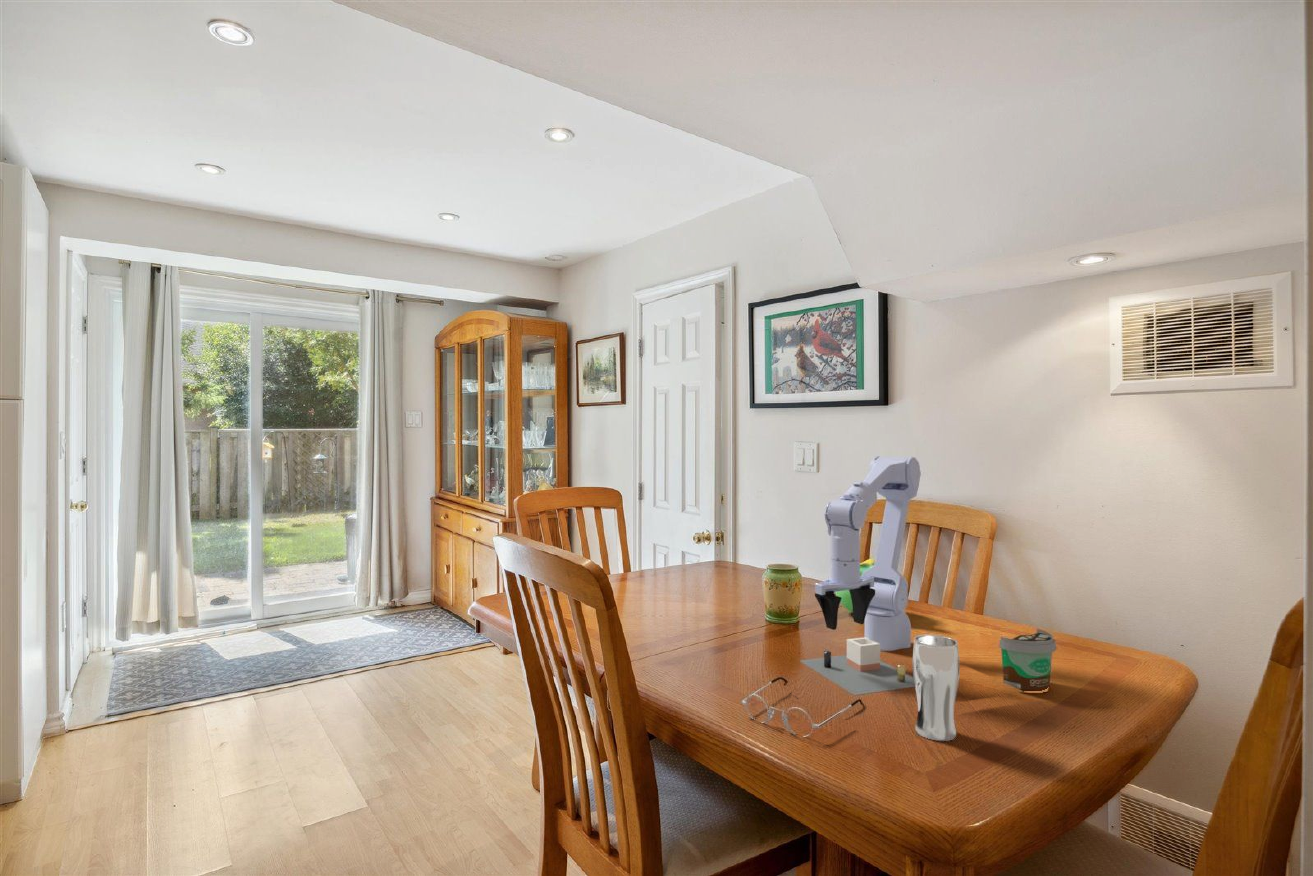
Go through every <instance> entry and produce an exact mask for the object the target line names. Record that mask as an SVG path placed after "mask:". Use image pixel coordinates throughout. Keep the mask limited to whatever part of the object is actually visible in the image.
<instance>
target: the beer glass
mask: <svg viewBox="0 0 1313 876" xmlns="http://www.w3.org/2000/svg"><path fill="white" fill-rule="evenodd" d="M912 648H913V649H912V661H911V662H912V677H914V684H915V687H914V689H915V695H916V700H917V716H916V721H915V728H914V729H915V732H916V733H917V734H918V735H919V736H921V737H923V738H924V737H925V738H924V739H927V738H928V740H930V739H931V740H930V741H934V740H935V741H936V742H942V741H943V742H944V741H946V742H951V741H950V740H952V741H954V740H955V739H956V738H957V730H956V725H955V718H954V717H955V715H954V714H955V711H954V710H955V704H956V699H957V694H958V689H959V681H960V656H959V653H960V652H959V643H958V641H957V640H956V639H954V638H951V637H949V636H945V635H942V634H941V635H939V634H931V633H929V634H928V633H926V634H925V633H924V634H919V635H915V636H914V637H913V647H912ZM955 737H956V738H955ZM954 738H955V739H954ZM953 739H954V740H953ZM935 741H934V742H935Z"/></svg>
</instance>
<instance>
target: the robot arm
mask: <svg viewBox="0 0 1313 876" xmlns="http://www.w3.org/2000/svg"><path fill="white" fill-rule="evenodd" d="M920 466H921V465H920V463H919V461H918V460H917V458H916V457H914V456H911V457H894V456H892V457H889V456H888V457H887V456H878V455H877V456H874V457H873V458H872V460H870V463H869V470H868V471H869V472H868V474H867V475H866V477H865V478H864V479H863V481H862V480H861V481H855V482H854V483H852V485H851V486H850V487H849V488H848V490H846V491H845V493H844V494H843V495H842V496H841V497H840V498H839V499H832V500H831V501H829V502H828V504H827V505H826V508H825V512H824V520H825V524H826V526H827V534H828V535H829V536H830V576H829V577H828V579H827V580H824V581H821V582H818V583H814V597H815V598H816V600H817V602H818V604H819V606H820V608H821V611H822V615H823V617H824V622H825V626H826V628H828V629H830V630H834V631H835V630H837V628H838V627H837V626H838V613H839V607H840V604H841V603H840V601H841V599H842V598H841V597H838V596H836V593H835V592H838V591H844V590H849V591H850V595H851V599H852V605H853V612H852V618H853V619H852V620H853V623H857V624H859V625H864V637H867V638H869V639H871V640H873V641H875V642H877V643H879V644H880V652H881V651H884V652H891V651H893V652H894V651H897V650H901V649H909V648H911V647H912V626H911V621H910V620H911V619H910V618H909V616H908V615H907V613H906V612H905V610H906V608H907V605H908V601H909V595H908V590H909V589H908V587H909V583H908V580H907V578H906V577H904V576H903V575H902V573H900V572H899V571H898V568H899V562H900V557H901V551H902V545H903V540H904V539H903V538H904V534H905V528H906V523H907V517H908V512H909V507H910V501H911V499H914V498H915V497H917V494H918V490H919V486H920V481H921V477H922V475H921V467H920ZM878 494H879V495H880V496H881V497H883V498H885V500H886V501H885V507H884V511H883V518H882V523H881V528H880V533H879V538H878V544H877V549H876V552H875V553H876V554H875V559H874V560H875V564H874V566H872V567H871V568H869V569H867V570H865V571H864V572H863V573H862V576H860V563H861V557H860V556H861V548H860V547H861V544H860V543H861V540H860V539H861V537H860V536H861V533H860V532H861V529H862V528H863V527H864V525H865V522H866V517H867V516H868V511H869V510H870V508H872V506H873V505H874V504H875V503H876V501H877V498H878ZM906 580H907V581H906ZM884 582H885V583H884ZM890 583H891V584H890Z"/></svg>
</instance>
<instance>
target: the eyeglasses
mask: <svg viewBox="0 0 1313 876" xmlns="http://www.w3.org/2000/svg"><path fill="white" fill-rule="evenodd" d="M779 680H782V681H783V682H784V683H788V682H789V681H788V680H787V679H785V678H784V677H782V676H778V677H777V678H776V677H775V678H774V679H772V680H771V681H769V683H768V684H767V685H765V686H763V687H761V688H759V689H758V690H756V691H754V692H753V693H751V694H750V695H747V697H745V698H744V699H743V700H741V704H742V705H743V706H745V709H746V712H747V714H748V716H749V717H750V718H751V719H752V720H753V719H754V720H753V721H755V720H756V719H755V718H754V717H753V716H752V714H751V713H750V711H749V708H748V701H749V700H750V699H751V698H753V697H754V696H755V697H757V698H759V699H760V700H761V701H762V702H763V703H764V705H765V708H766V710H767V717H766V720H765V721H762V722H760V723H761V724H763V723H764V724H763V725H767V724H768V723H769V722H770V720H771V719H772V720H773V717H774V714H775V710H776V711H779V712H782V713H781V718H782V722H783V725H784V727H785V729H786V730H787V731H788V732H789V733H790V734H793V735H796V733H795V732H794V731H793V730H792V729H791V728H790V726H789V724H788V723H789V720H788V716H787V713H788V712H789V711H790V710H793V709H795V710H799V711H802V713H804V714H805V715H806V716H807V717H808V718H809V721H810V722H811V731H810V733H809V734H807V735H803V738H807V737H809V736H810V735H811V734H812V733H813V730H814V729H820V728H822V726H824V725H826V724H827V723H828V722H830V721H832V720H834V719H835V718H837V717H838V716H840V715H841V714H843V713H844V712H845V711H846V710H848V709H850V708H853V707H854V706H855V705H856V704H858V703H860V704H862V702H863V701H862V699H860V698H859V699H856V700H855V701H854V702H851V703H850V704H849V705H848V706H847V707H846V708H844V709H841V710H840V711H838V712H837V713H835V714H834V715H833V716H831V717H829V718H828V719H826V720H825V721H823V722H821V723H819V724H816V723H815V724H814V723H813V719H812V717H811V716H810V715H809V713H808V712H807V711H806V710H804V709H803V708H801V707H797V706H796V707H795V706H793V707H790V708H788V709H787V711H786V712H785V710H783V709H779V708H776V707H772V706H769V707H768V704H767V702H766V701H765V700H764V698H762V696H760V695H758V694H759V693H760V692H761V691H763V690H765V689H766V687H769V685H773V684H774V683H775V682H777V681H779ZM772 709H773V710H772Z"/></svg>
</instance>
